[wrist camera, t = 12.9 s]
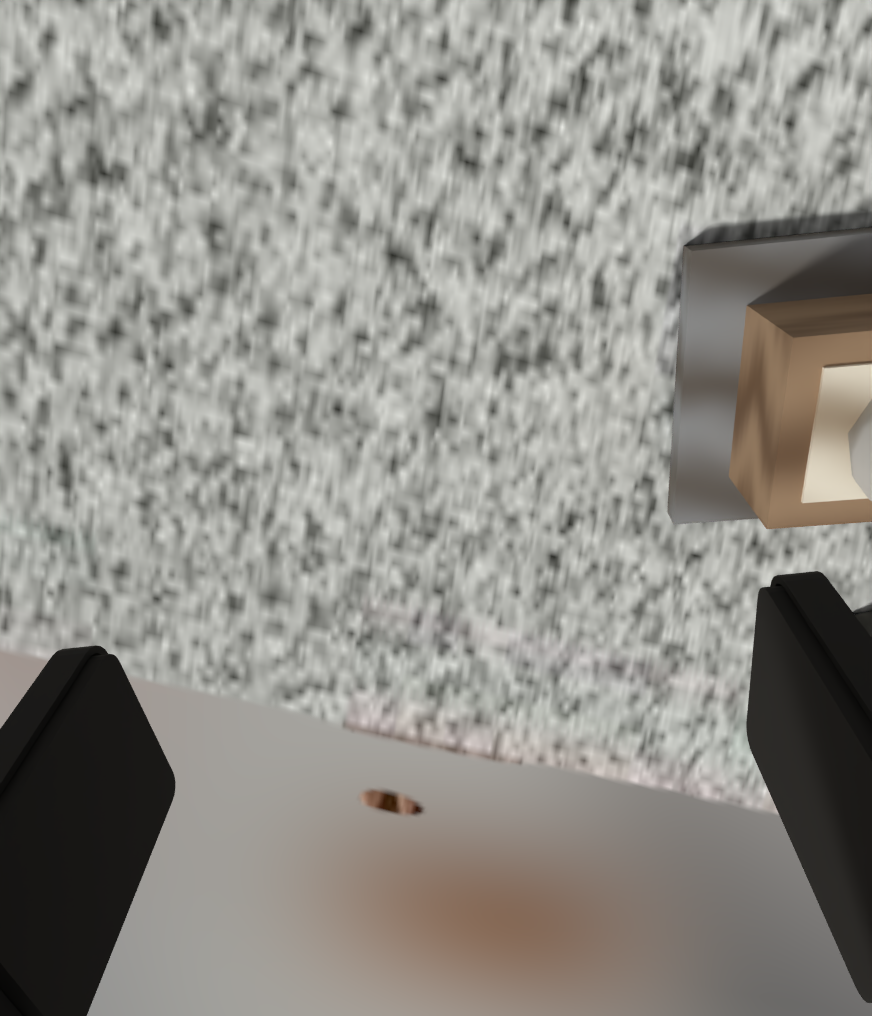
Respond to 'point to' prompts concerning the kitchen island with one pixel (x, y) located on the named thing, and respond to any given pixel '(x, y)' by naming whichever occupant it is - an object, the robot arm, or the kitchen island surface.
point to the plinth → (720, 349)
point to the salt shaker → (862, 451)
